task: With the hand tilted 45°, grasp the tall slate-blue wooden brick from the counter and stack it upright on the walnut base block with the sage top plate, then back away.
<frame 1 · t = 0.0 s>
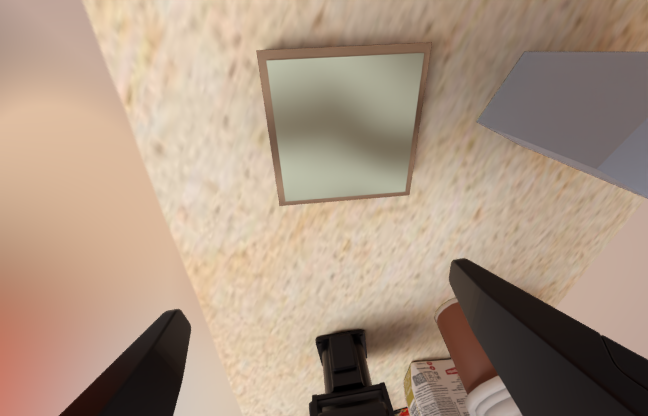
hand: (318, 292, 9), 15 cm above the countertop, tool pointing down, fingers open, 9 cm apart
race car: (397, 412, 50), on the countertop
coffee cup: (457, 310, 35), on the countertop
walnut base block: (338, 122, 20), on the countertop
slate brick: (523, 103, 21), on the countertop
juice carton: (428, 368, 42), on the countertop
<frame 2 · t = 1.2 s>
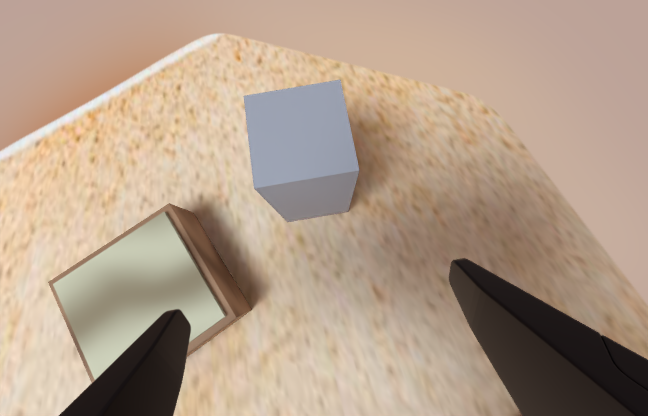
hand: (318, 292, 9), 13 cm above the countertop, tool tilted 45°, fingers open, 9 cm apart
walnut base block: (170, 294, 22), on the countertop
slate brick: (313, 188, 23), on the countertop
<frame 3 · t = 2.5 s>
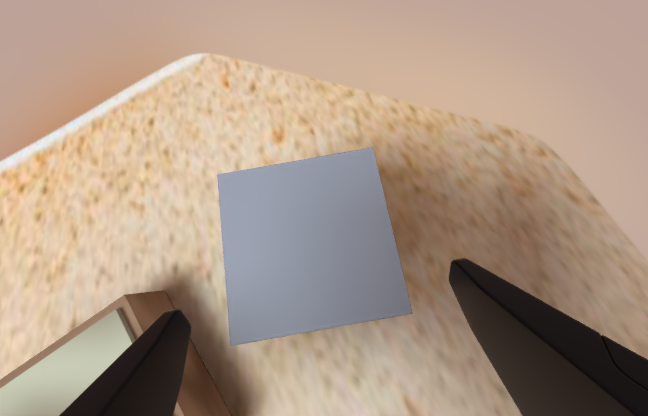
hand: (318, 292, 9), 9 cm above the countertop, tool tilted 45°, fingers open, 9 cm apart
walnut base block: (130, 408, 16), on the countertop
slate brick: (321, 256, 18), on the countertop
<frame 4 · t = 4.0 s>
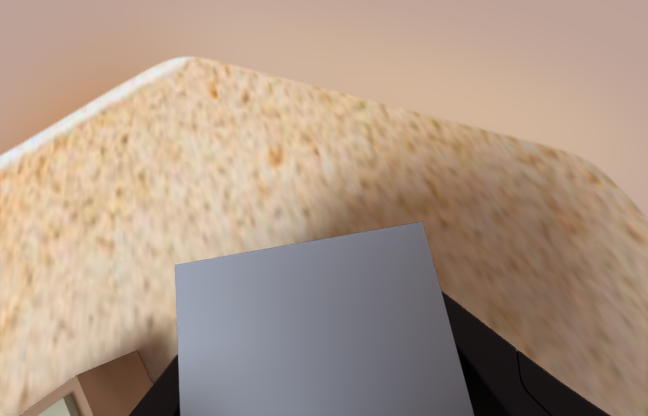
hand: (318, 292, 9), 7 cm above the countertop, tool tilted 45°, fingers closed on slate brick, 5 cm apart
slate brick: (328, 307, 15), on the countertop, touching gripper
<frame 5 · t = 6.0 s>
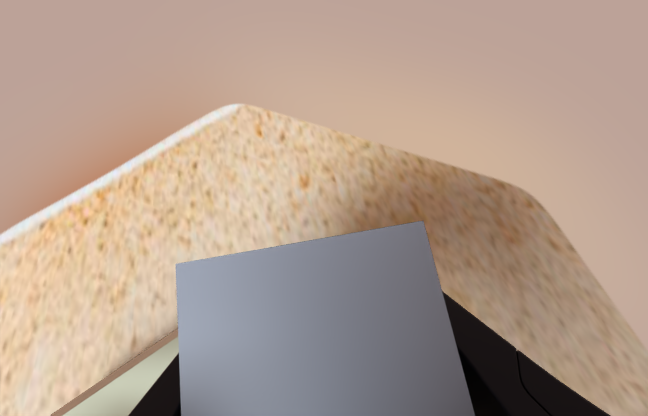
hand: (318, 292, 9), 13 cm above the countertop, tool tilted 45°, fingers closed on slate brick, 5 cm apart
walnut base block: (183, 411, 20), on the countertop
slate brick: (328, 307, 15), point 7 cm above the countertop, touching gripper
when the fingers open (11 cm above the countertop, at t = 8.1 s): slate brick stays where it is, resting on walnut base block.
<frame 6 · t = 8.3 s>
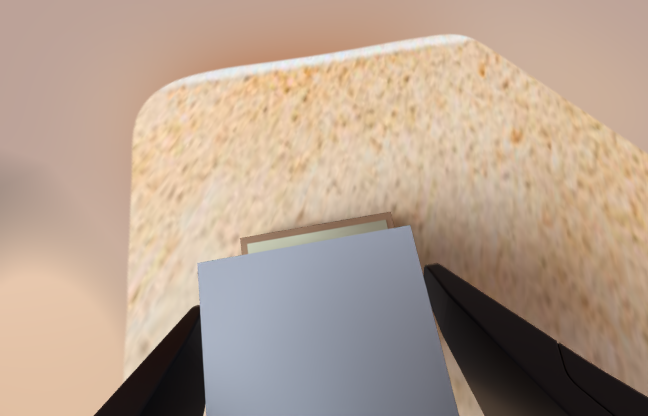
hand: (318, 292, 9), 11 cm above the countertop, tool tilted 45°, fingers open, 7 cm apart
walnut base block: (329, 298, 19), on the countertop
slate brick: (328, 304, 16), point 4 cm above the countertop, touching walnut base block
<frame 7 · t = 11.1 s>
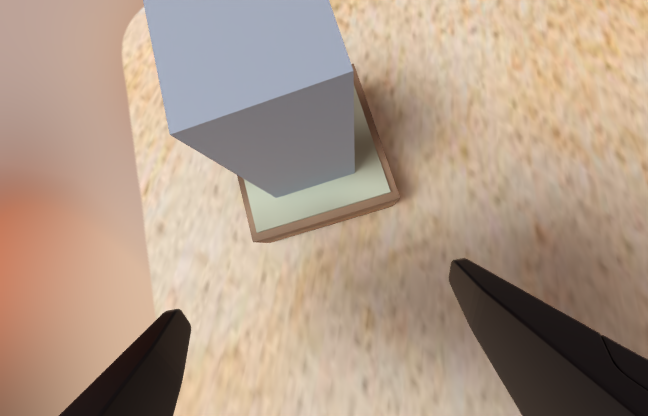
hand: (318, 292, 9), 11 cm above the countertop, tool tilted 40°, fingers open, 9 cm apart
walnut base block: (313, 165, 21), on the countertop
slate brick: (303, 148, 17), point 4 cm above the countertop, touching walnut base block
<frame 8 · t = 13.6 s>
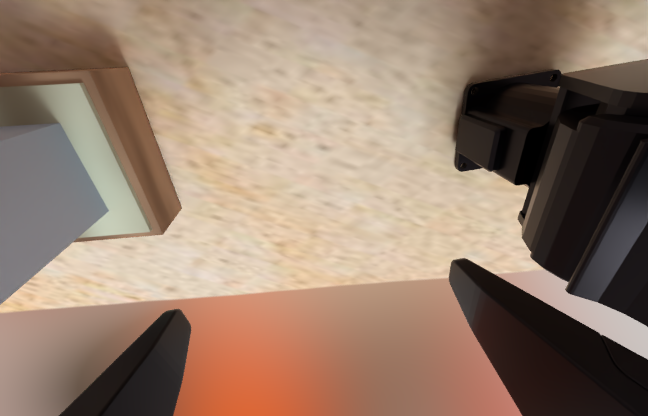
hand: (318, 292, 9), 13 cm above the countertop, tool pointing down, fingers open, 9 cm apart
walnut base block: (84, 152, 18), on the countertop
slate brick: (36, 174, 15), point 4 cm above the countertop, touching walnut base block
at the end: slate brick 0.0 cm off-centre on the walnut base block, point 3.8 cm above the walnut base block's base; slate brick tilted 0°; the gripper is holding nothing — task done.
